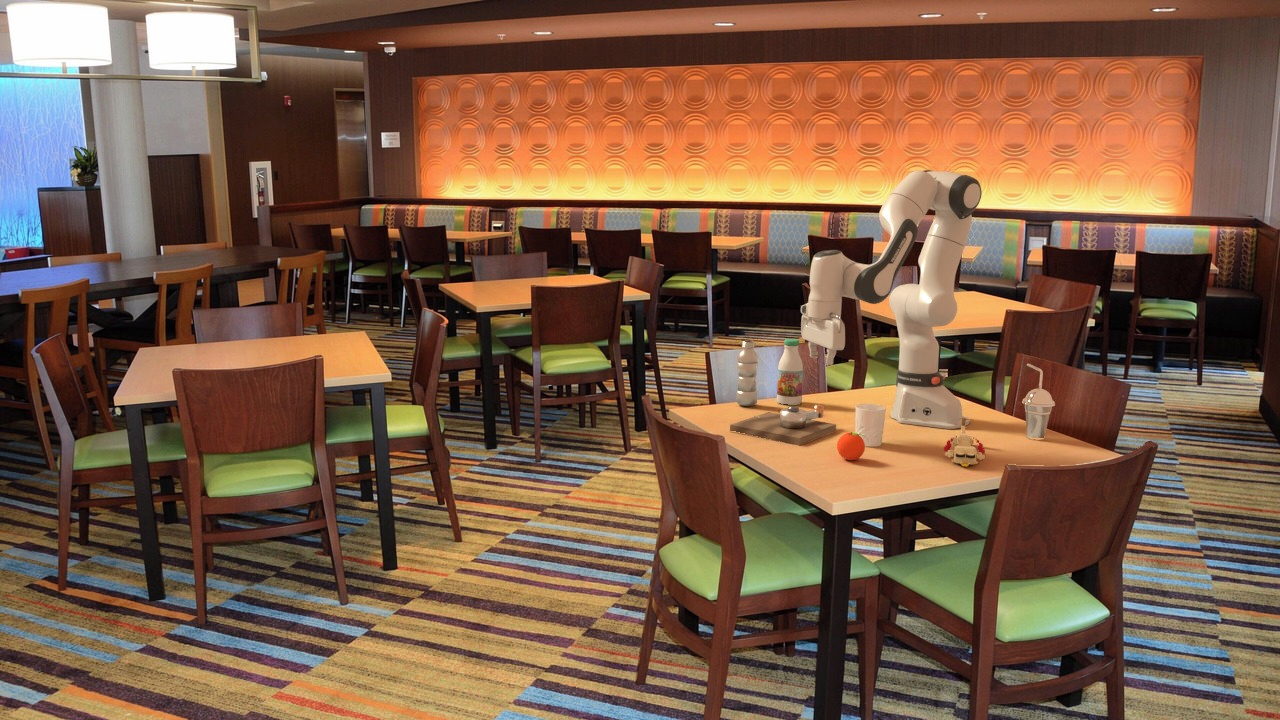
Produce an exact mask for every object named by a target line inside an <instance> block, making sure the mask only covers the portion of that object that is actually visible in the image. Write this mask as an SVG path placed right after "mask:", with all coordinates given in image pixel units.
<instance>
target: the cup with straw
mask: <svg viewBox="0 0 1280 720" xmlns="http://www.w3.org/2000/svg"><path fill="white" fill-rule="evenodd" d="M1026 366H1027V367H1029V368H1031V369H1033V370H1036V371H1038V372H1039V383H1038V388H1034V389H1031V390H1030V391H1028V392H1027V394H1026V396H1025V397H1024V398H1023V399H1022V401H1021V403H1022V404H1023V405H1024V409H1025V410H1024V412H1025V424H1026V426H1025V427H1026V428H1025V429H1026V431H1025V432H1026V437H1027V436H1028V437H1032V438H1044V439H1045V436H1046V435H1047V434H1046V433H1047V429H1048V428H1047V427H1048V424H1049V418H1050V415H1051V412H1052V409H1053V408H1052V407H1055V406H1056V403H1055V401H1054V399H1053V398H1052V395H1051V394H1050V391H1047V390H1046V389H1043V388H1042V387H1043V378H1044V377H1043V376H1044V372H1043V370H1042V369H1041V368H1039V367H1037V366H1035V365H1033V364H1031V363H1026Z"/></svg>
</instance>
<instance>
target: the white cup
mask: <svg viewBox="0 0 1280 720" xmlns="http://www.w3.org/2000/svg"><path fill="white" fill-rule="evenodd" d="M854 409H855V413H854V414H855V419H854V422H855V423H854V424H855V425H854V426H855V433H858V434H861V435H859V436H860V437H861V438H862V439H863V441H864V443H865V447H869V448H871V447H872V448H874V447H880V446H881V445H882V444H883V434H884V429H885V420H886V410H887V408H886V407H885V406H883V405H882V404H881V405H880V404H875V403H860V404H856V405H855V407H854ZM862 435H863V436H862ZM864 436H865V437H864ZM867 439H868V440H867ZM868 441H869V442H868Z"/></svg>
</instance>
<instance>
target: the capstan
mask: <svg viewBox="0 0 1280 720" xmlns="http://www.w3.org/2000/svg"><path fill="white" fill-rule="evenodd" d="M779 414H780V425H781V426H782V427H786V428H803V427H805V426H806V421H807V420H815V419H822V418H824V405H823V404H815V405H814V407H813V410H808V411H807V410H805V409H802V408H800V407H799V406H797V405H789V406H788V407H786V408H782V409H780V412H779Z"/></svg>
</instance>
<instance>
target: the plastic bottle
mask: <svg viewBox="0 0 1280 720" xmlns="http://www.w3.org/2000/svg"><path fill="white" fill-rule="evenodd" d="M741 343H742V344H741V348H742V349H741V350H740V351H739V353H738V354H737V355H736V356H737V357H736V365H737V372H738V373H737V374H738V380H737V381H738V382H737V388H736V389H737V390H736V394H735V400H736V403H737V404H738V405H739V406H743V407H751V406H755V405H757V403H758V398H759V397H758V391H757V375H758V374H757V370H758V367H759V355H758V354H757V352H756V351H755V345H756V344H755V341H754V340H743V341H741Z"/></svg>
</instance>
